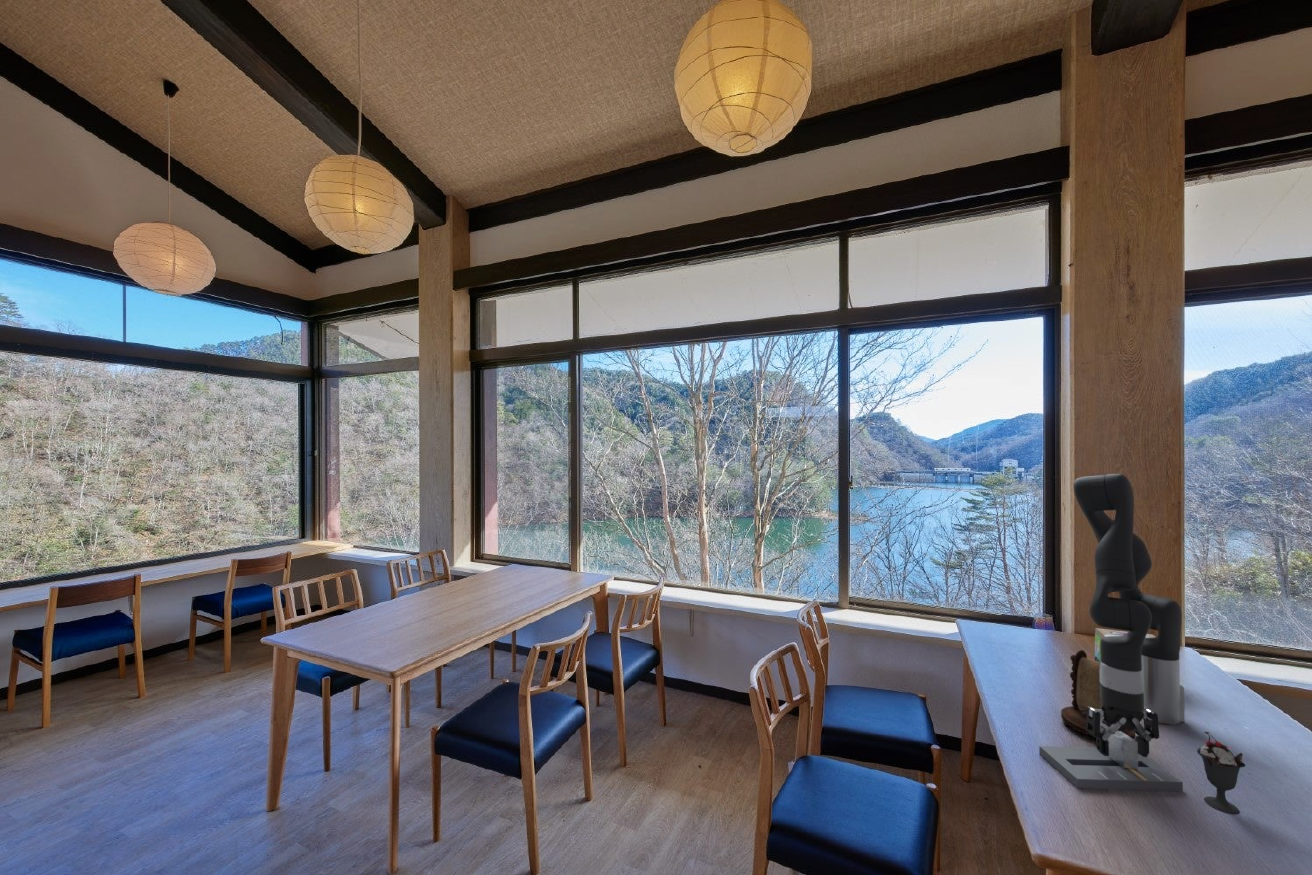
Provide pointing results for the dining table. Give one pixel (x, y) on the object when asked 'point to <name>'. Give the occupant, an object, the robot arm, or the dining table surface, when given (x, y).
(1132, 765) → the fader tab
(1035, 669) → the dining table surface
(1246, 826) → the dining table surface
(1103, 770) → the slider plate with stripes
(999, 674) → the dining table surface
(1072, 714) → the scroll
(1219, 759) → the sundae
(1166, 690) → the robot arm
